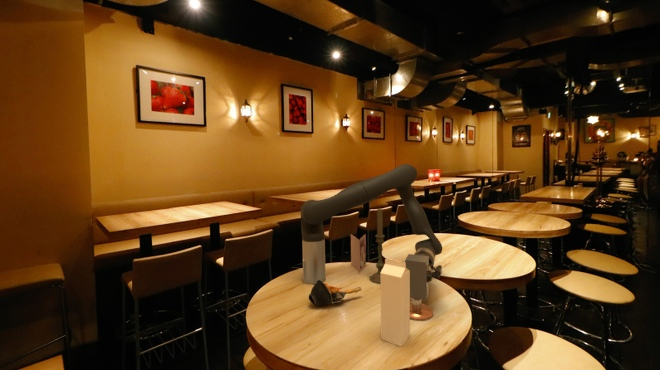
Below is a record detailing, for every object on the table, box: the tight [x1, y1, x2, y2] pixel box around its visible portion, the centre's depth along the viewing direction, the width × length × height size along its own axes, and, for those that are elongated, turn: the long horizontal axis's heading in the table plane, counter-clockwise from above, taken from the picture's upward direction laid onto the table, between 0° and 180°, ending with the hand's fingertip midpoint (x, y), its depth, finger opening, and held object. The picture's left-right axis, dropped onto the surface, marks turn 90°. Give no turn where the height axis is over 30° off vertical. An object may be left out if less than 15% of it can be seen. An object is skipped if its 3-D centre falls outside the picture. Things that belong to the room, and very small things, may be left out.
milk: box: [380, 258, 411, 347], centre depth 82 cm, size 6×6×22 cm
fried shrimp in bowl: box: [308, 280, 362, 307], centre depth 105 cm, size 9×11×18 cm
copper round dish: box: [410, 298, 434, 322], centre depth 96 cm, size 10×10×6 cm
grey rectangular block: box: [404, 253, 430, 302], centre depth 95 cm, size 6×6×12 cm
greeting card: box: [350, 233, 367, 274], centre depth 136 cm, size 11×7×15 cm, turn 160°
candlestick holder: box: [368, 208, 385, 285], centre depth 122 cm, size 9×9×30 cm
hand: (416, 277), depth 93 cm, fingers closed on grey rectangular block, 6 cm apart
